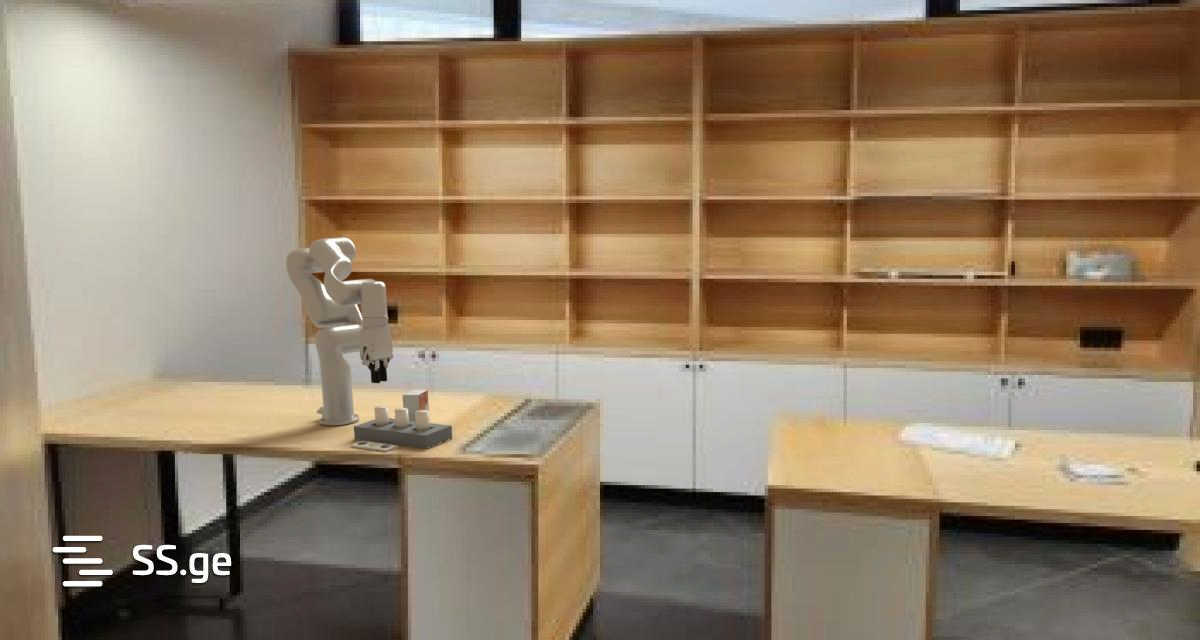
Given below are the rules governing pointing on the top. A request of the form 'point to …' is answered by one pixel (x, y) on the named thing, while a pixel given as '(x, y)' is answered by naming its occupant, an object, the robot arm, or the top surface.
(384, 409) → the button
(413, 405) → the small box
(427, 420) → the button
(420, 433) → the grey slotted rack
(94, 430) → the top surface
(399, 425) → the button
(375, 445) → the pattern card
